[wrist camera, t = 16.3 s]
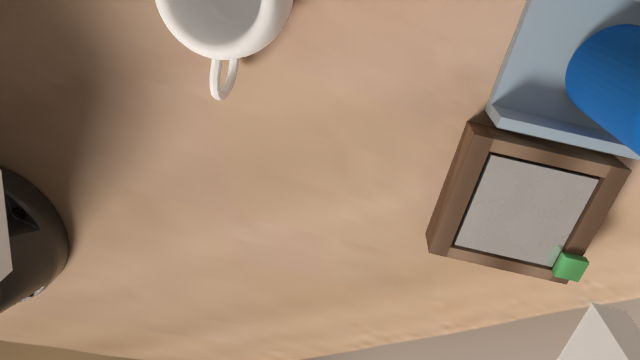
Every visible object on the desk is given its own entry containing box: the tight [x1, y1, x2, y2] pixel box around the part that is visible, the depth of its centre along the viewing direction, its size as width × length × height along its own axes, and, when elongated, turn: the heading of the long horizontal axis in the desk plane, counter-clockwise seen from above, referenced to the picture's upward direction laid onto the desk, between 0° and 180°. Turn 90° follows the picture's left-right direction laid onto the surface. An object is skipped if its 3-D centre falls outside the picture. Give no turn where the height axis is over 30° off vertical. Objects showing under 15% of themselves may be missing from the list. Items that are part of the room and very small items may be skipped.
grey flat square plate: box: [453, 151, 599, 267], centre depth 38 cm, size 8×8×1 cm
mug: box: [155, 0, 293, 100], centre depth 32 cm, size 12×8×8 cm
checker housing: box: [425, 121, 631, 284], centre depth 38 cm, size 12×11×4 cm
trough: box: [485, 0, 640, 160], centre depth 33 cm, size 14×11×4 cm
